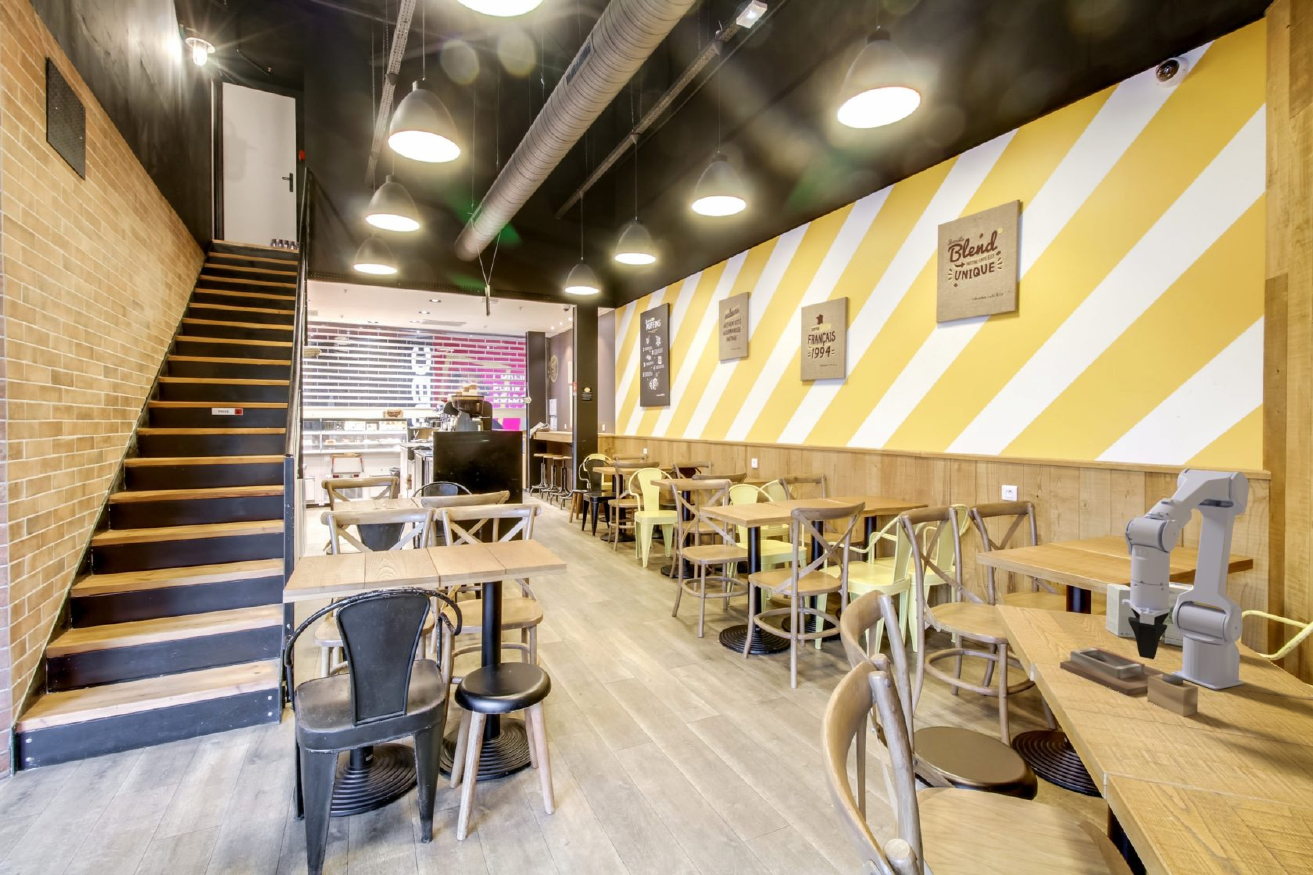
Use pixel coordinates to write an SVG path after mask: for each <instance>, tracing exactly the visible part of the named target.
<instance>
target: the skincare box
mask: <svg viewBox="0 0 1313 875" xmlns="http://www.w3.org/2000/svg"><path fill="white" fill-rule="evenodd" d="M1106 588H1107V589H1106V613H1105V614H1106V617H1105V629H1106V630H1107V631H1108V632H1110V633H1112V634H1113V635H1115V636H1116V637H1118V638H1119V637H1120V638H1132V639H1136V638H1135V634H1134V632H1133V629H1132V628H1131V626H1130V624H1129V622H1128V618H1129V617H1134V618H1136V617H1135V615H1134V613H1133V611H1132V608H1131V607H1130V606H1128V605H1124V604H1122V601H1123V599H1128V600H1130V588H1131V586H1128V585H1126V584H1117V583H1116V584H1114V583H1107V585H1106Z"/></svg>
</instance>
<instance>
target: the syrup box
mask: <svg viewBox="0 0 1313 875" xmlns="http://www.w3.org/2000/svg"><path fill="white" fill-rule="evenodd" d="M1193 588H1194V584H1186V583H1181V582H1180V583H1179V582H1174V581H1173V582H1171V581H1169V607H1170V612H1169V615H1168V616H1167V618H1166V619H1165V621H1164V622H1163V624H1165V625H1167V629H1166V630H1165V632H1164V633H1163V634H1162V636H1161V644H1165V645H1168V646H1169V645H1170V646H1175V647H1180V648H1183V635H1182V634H1180V630H1178V629H1177V628H1176V627H1175V625H1174V623H1173V620H1172V614H1173V610H1174V607H1175V605H1176V602H1177V598H1178V595H1180V594H1181V593H1184V592H1186V591H1189V590H1192V589H1193ZM1193 604H1195V603H1193Z"/></svg>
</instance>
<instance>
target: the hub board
mask: <svg viewBox="0 0 1313 875" xmlns="http://www.w3.org/2000/svg"><path fill="white" fill-rule="evenodd" d="M1059 663H1060V664H1059V668H1061V669H1063V670H1065V671H1067V672H1070V673H1073V674H1075V675H1077V676H1078V677H1082V678H1084V679H1087V680H1089V681H1091V680H1092V681H1091V682H1094V683H1096V684H1098V683H1099V685H1101V684H1102V685H1101V686H1103V685H1104V686H1103V687H1106V688H1108V687H1110V688H1111V690H1113V691H1116V692H1118V691H1119V692H1118V693H1120V694H1123V695H1126V696H1133V695H1138V694H1142V693H1148V692H1147V691H1148V677H1149V676H1155V675H1160V674H1169V675H1171V674H1170V673H1167V672H1164V671H1162V670H1159V669H1156V668H1153V667H1151V666H1148V665H1146V664H1145V663H1144V662H1141V661H1138V660H1135V659H1132V658H1129V657H1127V656H1124V655H1121V654H1118V653H1115V652H1113V651H1110V650H1107V649H1104V648H1101V647H1099V646H1094V647H1091V648H1085V649H1078V650H1073V651H1070V660H1066V661H1061V662H1059ZM1110 688H1109V689H1110Z"/></svg>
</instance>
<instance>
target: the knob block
mask: <svg viewBox="0 0 1313 875" xmlns="http://www.w3.org/2000/svg"><path fill="white" fill-rule="evenodd" d="M1169 674H1170V673H1167V674H1160V675H1155V676H1149V677H1148V692H1147V700H1146V702H1147V703H1149V702H1151V703H1153V704H1152V705H1154V704H1155V705H1154V706H1156V705H1157V707H1158V708H1161V709H1164V710H1166V709H1167V711H1169V712H1171V713H1173V712H1174V714H1176V715H1178V716H1181V717H1186V716H1191V715H1196V714H1198V705H1199V704H1198V702H1199V700H1198V699H1199V698H1198V697H1199V686H1196V685H1193V684H1191V683H1188V682H1185V681H1184V679H1183V678H1180V677H1178V676H1175V675H1172V674H1170V675H1169ZM1151 703H1150V704H1151Z"/></svg>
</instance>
